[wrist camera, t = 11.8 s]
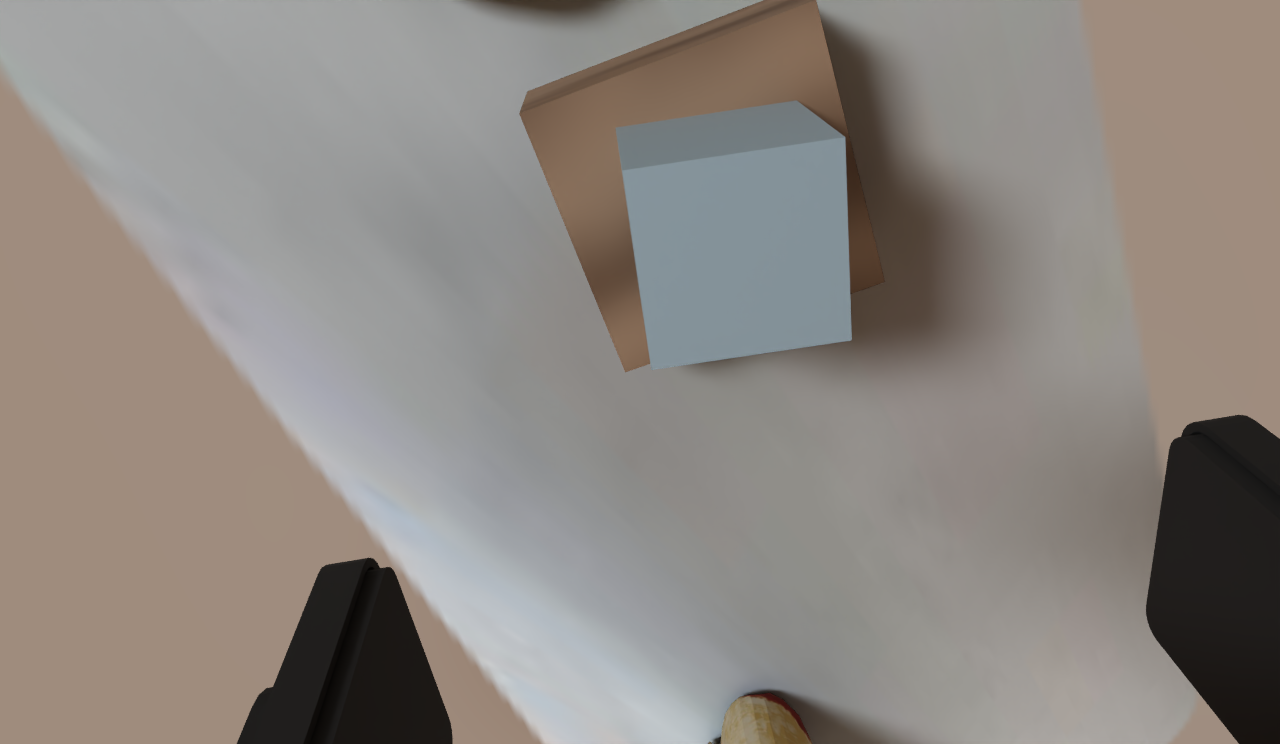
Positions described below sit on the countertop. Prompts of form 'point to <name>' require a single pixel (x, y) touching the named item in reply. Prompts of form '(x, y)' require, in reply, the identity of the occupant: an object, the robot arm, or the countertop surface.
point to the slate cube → (738, 232)
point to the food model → (762, 722)
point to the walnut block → (668, 89)
